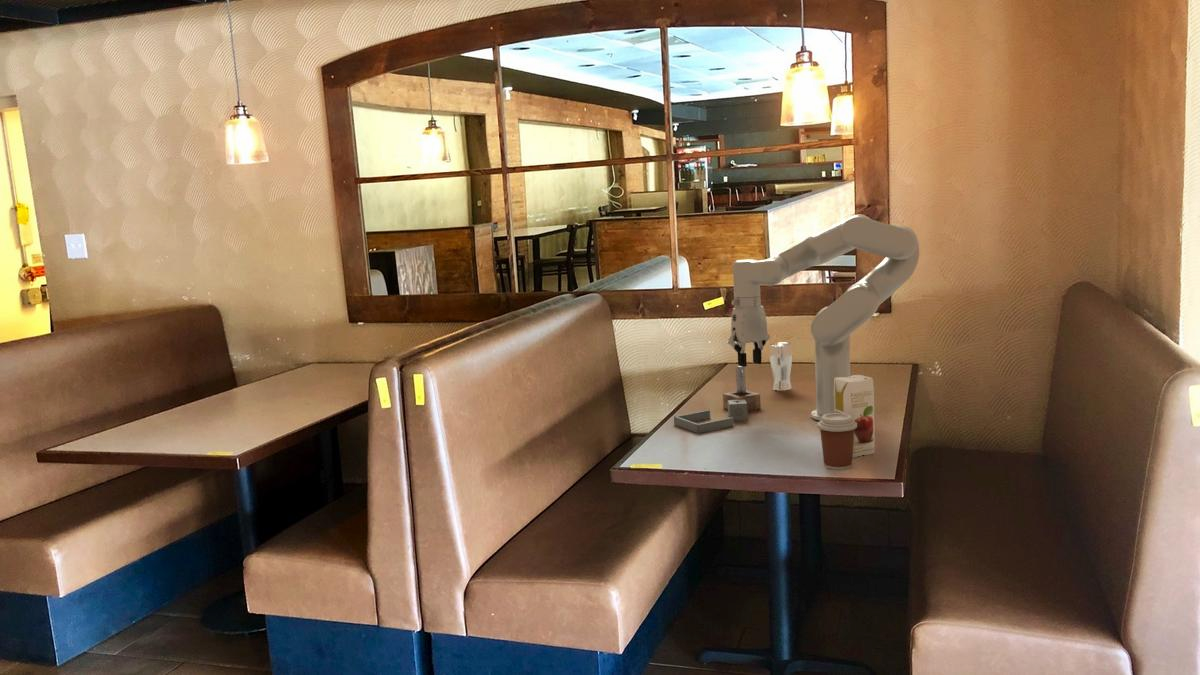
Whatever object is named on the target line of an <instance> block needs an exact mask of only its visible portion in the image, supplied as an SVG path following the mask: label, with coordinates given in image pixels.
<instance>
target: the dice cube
mask: <svg viewBox="0 0 1200 675" xmlns="http://www.w3.org/2000/svg"><path fill="white" fill-rule="evenodd" d="M727 416H728V417H727V418H730V417H733V418H734V420H740V421H748V416H749V415H748V411H747V403H746V401H745V399H744V400H728V409H727Z"/></svg>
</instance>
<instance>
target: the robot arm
mask: <svg viewBox="0 0 1200 675" xmlns="http://www.w3.org/2000/svg"><path fill="white" fill-rule="evenodd" d="M856 249H857V250H861V251H864V252H865V253H866V252H867V253H870V254H874V255H878V256H880V257H884V259H883V260H882V261H881V262H880V263H879V264H877V265H876V266H875V267H874V268H872V270H870V272H869V273H867V274H866V275H865V276H863V277H862V278H861V279H860V280H858V281H857V282H855V283H854V284H852V285H850V286H849V287H848V288H847V289H846V290H845V292H844V293H843V294H841V295H840V296H839V297H838V298H837V299H835V300H834V301H833V302H832V303H831V304H829V305H828V306H825V307H823V308H821V309H820V310H819V311H818V312H817V313H816V314H815V316H814V318H813V320H812V321H811V325H810V333H811V336H812V338H813V340H814V365H815V367H814V373H815V399H816V400H815V406H816V407H815V408H816V409H814V410H812V411H811V412H810V416H811V418H812V419H814V420H816V421H818V422H819V421H821V420H822V416H823V415H825V414H829V413H834V378H839V377H849V376H851V355H850V354H851V351H850V348H851V347H850V345H851V344H850V343H851V338H850V337H851V334H853V333H854V332H855V331H856V330H857V329H859V328H860V327H861V326H863V325H864V324H865V323H867V321H869V320H870V319H871V318H872V317H873V316H874V315H876V312H877V311H878V309H879V307H880V306H881V304H883V303H884V302H885V301H886V300H887V299H888V298H890V297H891V296H892V295H893V294H894V293H896V291H898V290H899V289H900V288H901V287H902V286H904V284H906V283H907V282H908V280H910V278H911V277H912V276H913V275H914V273H915V270H916V268H917V265H918V262H919V259H920V245H919V239H918V237H917V234H916V232H915V231H914V229H912V228H911V227H909V226H906V225H898V226H896V225H892V224H888V223H884V222H881V221H878V220H874V219H871V218H870V217H868V216H867V215H865V214H863V213H861V214H859V213H858V214H853V215H851V216H849V217H847V218H845V219H843V220H841V221H839V222H837V223H835V224H832V225H830V226H828V227H827V228H824V229H823V230H820V231H818V232H816V233H814V234H812V235H810V236H808V237H807V238H806V239H804V240H802V241H801V242H799V243H798V244H797V243H796V245H794V246H791V247H789V248H787V249H785V250H783V251H781V252H779V253H777V254H775V255H773V256H771V257H768V258H766V259H762V260H757V259H753V258H750V259H748V258H747V259H746V258H744V259H738V260H737V259H736V260H735V261H734V262H733V264H732V277H733V280H732V281H733V300H731V305H732V306H734V307H733V308H732V310H731V312H732V313H731V323H730V324H731V325H730V326H731V327H730V334H731V335H730V336H729V338H728V341H727V342H726V343H727V345H728V346H730V347H732V349H733V350H735V352H736V353H737V363H738V365H737V366H743V367H745V368H746V367H747V365H748V364H747V363H748V362H747V361H748V360H747V353H746V352H745V351H746V344H749V343H752V344H753V349H752V362H753V363H754V364H758V365H762V359H763V358H762V351H763V349H764V347H765V345H766V344H767V342H768V341H769V340H770V338H771V336H770V334H769V333H768V324H767V315H766V312H765V308H764V306H763V305H762V304H761V303H762V301H761V285H763V286H776V285H778V284H780V283H781V282H783V281H784V280H786V279H787V278H789V277H792V276H794V275H795V274H798V273H800V272H802V271H804V270H807V269H809V268H811V267H812V268H813V267H815V266H819V265H823V264H826V263H829V262H830V261H832V260H834V259H836V258H838V257H840V256H841V257H842V256H843V255H845V254H846V253H849V252H851V251H853V250H856Z"/></svg>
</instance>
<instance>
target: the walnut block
mask: <svg viewBox="0 0 1200 675" xmlns="http://www.w3.org/2000/svg"><path fill="white" fill-rule="evenodd" d="M744 399H745V401H746V403H747V412H749V410H750V411H754V410H753V409H755V410H759V409H758V408H760V409H761V408H762V407H761V393H759V392H754V391H751V390H747V389H746V395H743V396H738V395H737V390H735V391H730V392H725V393H722V405H723V406H722V408H723V409H725V408H726V409H725V410H728V400H744Z"/></svg>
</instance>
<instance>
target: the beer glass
mask: <svg viewBox="0 0 1200 675" xmlns="http://www.w3.org/2000/svg"><path fill="white" fill-rule="evenodd" d="M769 345H770V346H769V347H770V348H769V349H770V350H769V360H770V362H769V363H770V367H771V371H772V376H773V377H772V378H773V384H772V390H773V391H775V390H777V391H776V392H787V391H786V390H789V391H791V390H792V384H791V371H792V370H791V369H792V364H793V362H792V361H793V356H792V354H793V353H792V352H793V351H792V347H791V346H792V344H791V343H790V342H774V343H773V342H772V343H770V344H769ZM790 389H791V390H790Z"/></svg>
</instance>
